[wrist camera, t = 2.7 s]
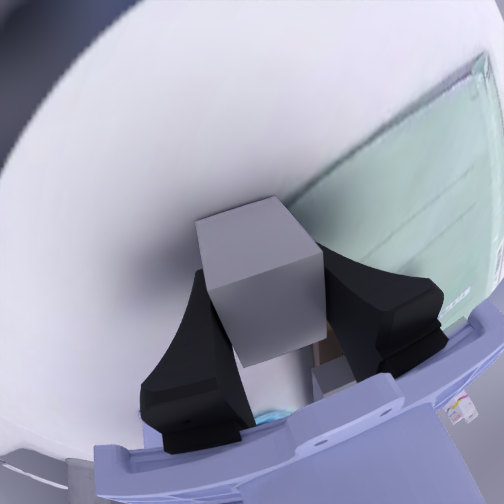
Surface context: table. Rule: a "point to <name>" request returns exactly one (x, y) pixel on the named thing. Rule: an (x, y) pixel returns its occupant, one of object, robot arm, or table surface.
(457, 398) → the ink cartridge box
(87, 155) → the table surface
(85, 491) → the glass holder
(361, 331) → the robot arm
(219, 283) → the grey cube
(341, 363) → the trapdoor
